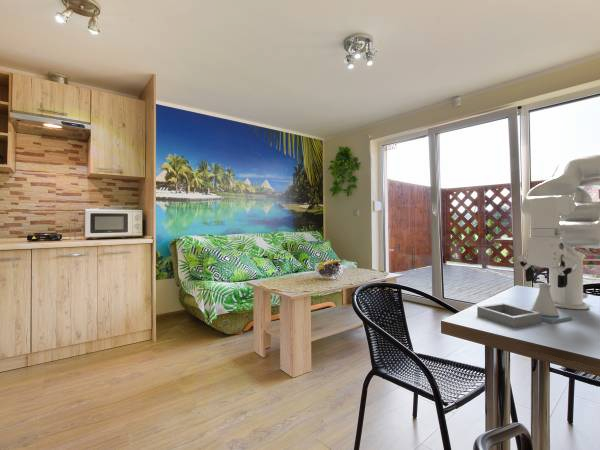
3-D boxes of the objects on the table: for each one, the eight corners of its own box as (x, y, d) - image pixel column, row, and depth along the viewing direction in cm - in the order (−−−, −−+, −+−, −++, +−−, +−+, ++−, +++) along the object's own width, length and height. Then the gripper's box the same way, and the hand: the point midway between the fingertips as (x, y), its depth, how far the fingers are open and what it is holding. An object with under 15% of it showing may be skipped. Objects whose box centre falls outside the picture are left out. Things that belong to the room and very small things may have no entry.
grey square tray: (503, 311, 106) (503, 302, 106) (541, 322, 94) (541, 313, 94) (477, 315, 102) (477, 306, 101) (513, 327, 90) (514, 317, 90)
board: (538, 310, 106) (538, 308, 106) (571, 319, 96) (571, 316, 96) (518, 314, 102) (518, 311, 102) (551, 323, 93) (551, 320, 93)
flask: (564, 317, 95) (564, 286, 95) (538, 316, 96) (538, 286, 96) (549, 310, 102) (549, 282, 102) (526, 310, 104) (526, 281, 103)
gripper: (583, 233, 92) (584, 288, 93) (525, 231, 108) (525, 277, 109) (568, 235, 89) (568, 291, 90) (510, 232, 106) (511, 280, 106)
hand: (545, 283), depth 100 cm, fingers open, 9 cm apart
